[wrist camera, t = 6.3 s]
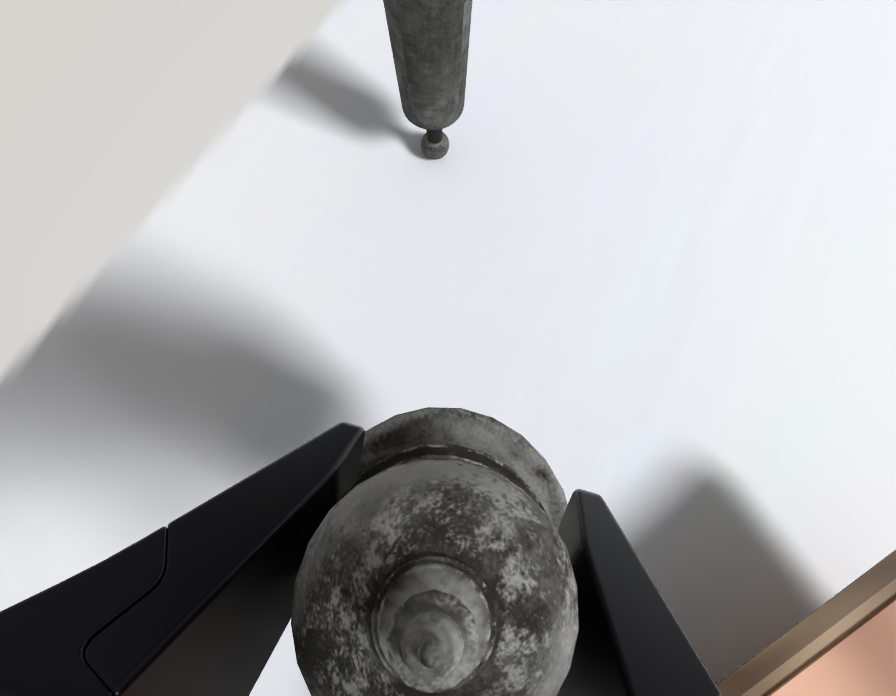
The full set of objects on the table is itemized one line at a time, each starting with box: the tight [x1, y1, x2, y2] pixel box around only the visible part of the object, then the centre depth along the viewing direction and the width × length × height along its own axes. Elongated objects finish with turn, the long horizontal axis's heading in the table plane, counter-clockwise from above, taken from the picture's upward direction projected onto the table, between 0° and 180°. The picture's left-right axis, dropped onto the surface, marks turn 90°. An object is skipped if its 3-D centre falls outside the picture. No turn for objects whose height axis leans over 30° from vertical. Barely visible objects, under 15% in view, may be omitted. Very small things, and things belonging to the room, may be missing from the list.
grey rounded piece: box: [291, 407, 579, 696], centre depth 9 cm, size 6×6×12 cm
